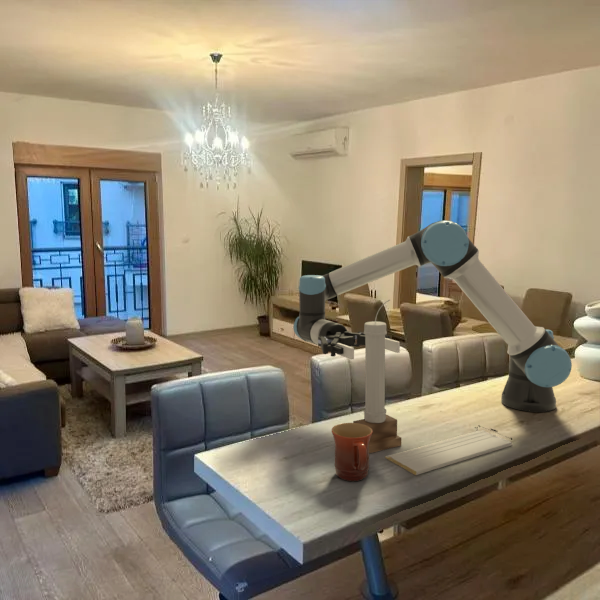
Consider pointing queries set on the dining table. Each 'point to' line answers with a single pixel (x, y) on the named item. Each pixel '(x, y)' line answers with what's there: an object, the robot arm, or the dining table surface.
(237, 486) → the dining table surface
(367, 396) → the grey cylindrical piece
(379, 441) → the walnut stepped block
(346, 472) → the mug
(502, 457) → the dining table surface
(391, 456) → the baseboard molding
